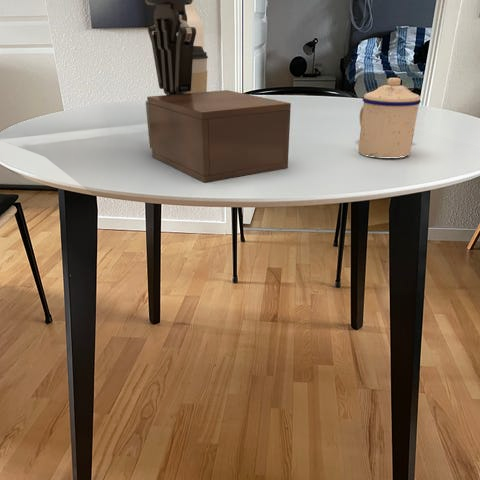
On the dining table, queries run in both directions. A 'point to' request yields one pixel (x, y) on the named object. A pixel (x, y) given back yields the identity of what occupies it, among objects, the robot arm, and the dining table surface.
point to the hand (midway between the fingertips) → (177, 134)
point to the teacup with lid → (388, 120)
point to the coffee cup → (199, 70)
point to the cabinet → (219, 133)
